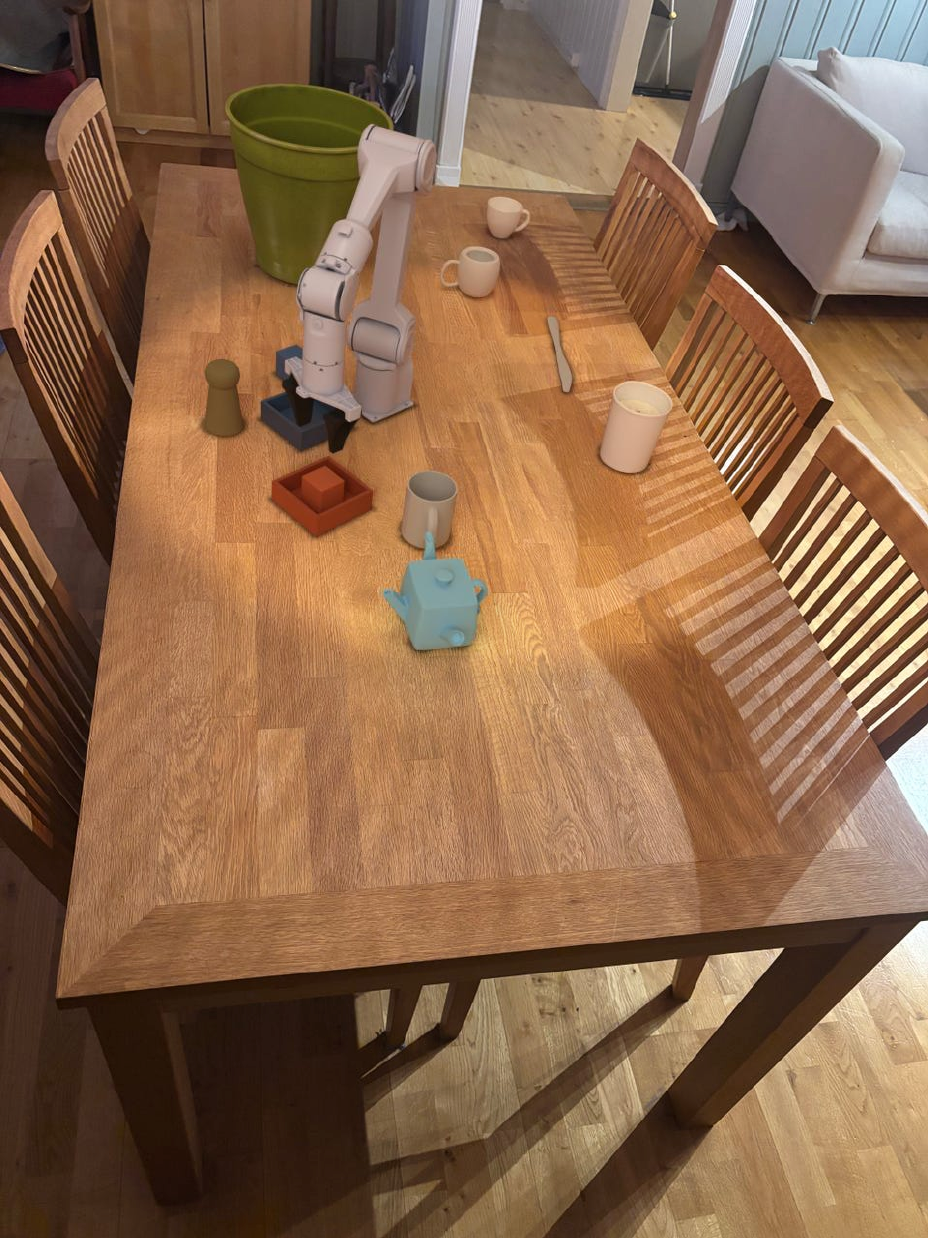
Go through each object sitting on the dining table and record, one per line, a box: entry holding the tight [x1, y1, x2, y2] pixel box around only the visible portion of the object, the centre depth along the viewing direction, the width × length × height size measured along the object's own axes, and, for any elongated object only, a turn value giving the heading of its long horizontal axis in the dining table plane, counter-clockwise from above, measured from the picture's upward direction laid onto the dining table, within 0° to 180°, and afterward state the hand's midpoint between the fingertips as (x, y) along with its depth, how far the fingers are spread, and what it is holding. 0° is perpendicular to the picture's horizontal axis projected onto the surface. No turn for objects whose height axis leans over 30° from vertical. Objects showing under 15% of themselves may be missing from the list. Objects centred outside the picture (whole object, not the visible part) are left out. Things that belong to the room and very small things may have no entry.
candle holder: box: [599, 380, 674, 474], centre depth 160 cm, size 10×10×12 cm
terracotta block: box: [301, 466, 345, 514], centre depth 142 cm, size 4×4×4 cm
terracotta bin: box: [271, 455, 374, 537], centre depth 143 cm, size 11×10×4 cm
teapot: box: [381, 532, 489, 651], centre depth 126 cm, size 18×14×10 cm
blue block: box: [275, 344, 303, 381], centre depth 165 cm, size 4×4×4 cm
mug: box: [439, 245, 501, 298], centre depth 194 cm, size 12×8×8 cm
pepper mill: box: [203, 358, 244, 437], centre depth 150 cm, size 6×6×11 cm
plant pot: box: [224, 83, 394, 286], centre depth 184 cm, size 30×30×29 cm
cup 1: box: [400, 469, 459, 550], centre depth 139 cm, size 7×10×9 cm
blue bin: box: [260, 391, 335, 452], centre depth 156 cm, size 11×10×4 cm
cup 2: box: [485, 196, 531, 239], centre depth 216 cm, size 8×10×7 cm
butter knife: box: [547, 315, 573, 393], centre depth 184 cm, size 1×27×3 cm
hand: (319, 436), depth 142 cm, fingers open, 7 cm apart
